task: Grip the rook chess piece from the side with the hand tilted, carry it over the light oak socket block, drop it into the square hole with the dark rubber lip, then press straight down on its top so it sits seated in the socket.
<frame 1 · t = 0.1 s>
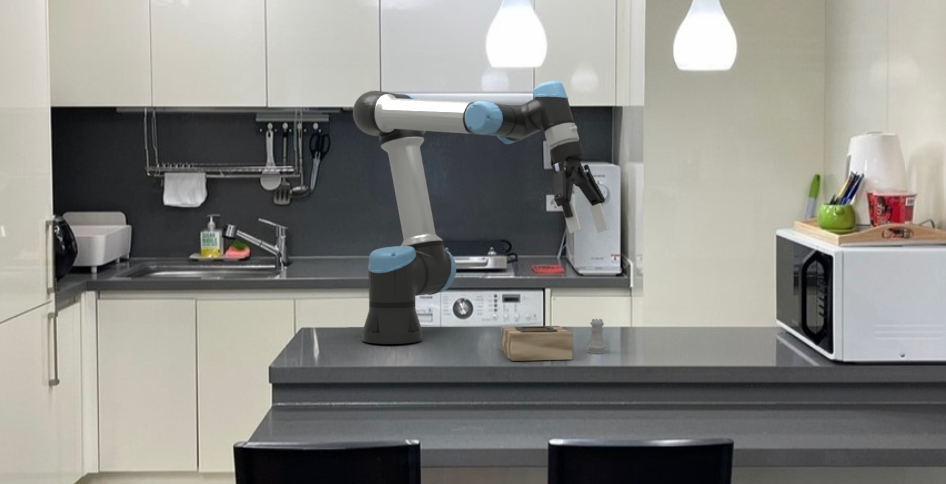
hand: (589, 231, 223), 29 cm above the countertop, tool tilted 20°, fingers open, 13 cm apart
socket block: (535, 355, 225), on the countertop
rook chess piece: (596, 353, 228), on the countertop
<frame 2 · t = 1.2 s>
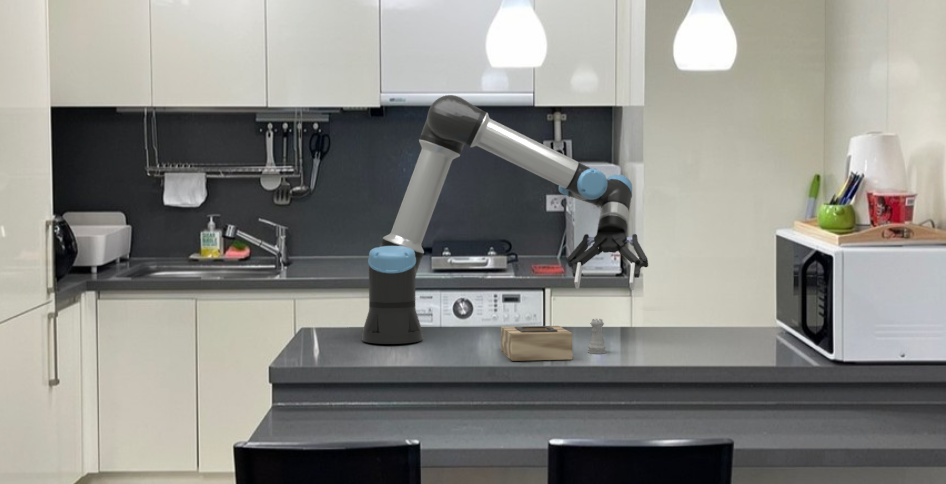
hand: (603, 285, 237), 15 cm above the countertop, tool tilted 45°, fingers open, 13 cm apart
nothing on the countertop moved.
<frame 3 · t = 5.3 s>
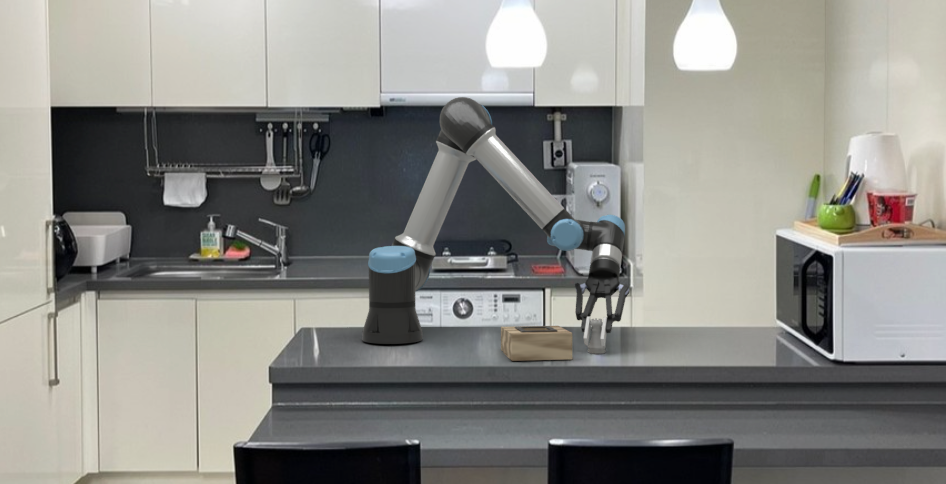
hand: (594, 341, 224), 3 cm above the countertop, tool tilted 45°, fingers closed on rook chess piece, 3 cm apart
rook chess piece: (596, 353, 228), on the countertop, touching gripper
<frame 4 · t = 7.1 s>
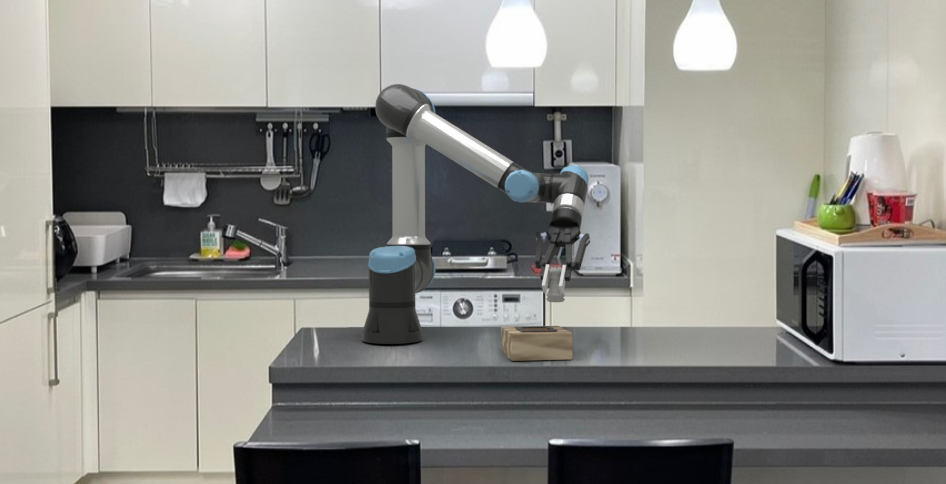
hand: (552, 289, 222), 16 cm above the countertop, tool tilted 45°, fingers closed on rook chess piece, 3 cm apart
rook chess piece: (555, 301, 226), point 12 cm above the countertop, touching gripper
when the fingers open (10 cm above the countertop, at t = 8.7 s): rook chess piece drops 7 cm, resting in socket block.
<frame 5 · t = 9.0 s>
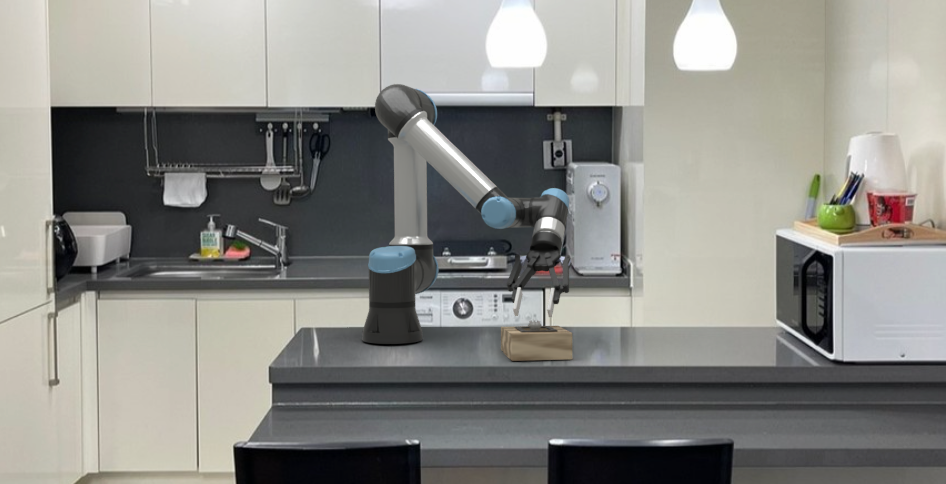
hand: (532, 312, 221), 10 cm above the countertop, tool tilted 45°, fingers open, 7 cm apart
rook chess piece: (534, 355, 225), resting in socket block
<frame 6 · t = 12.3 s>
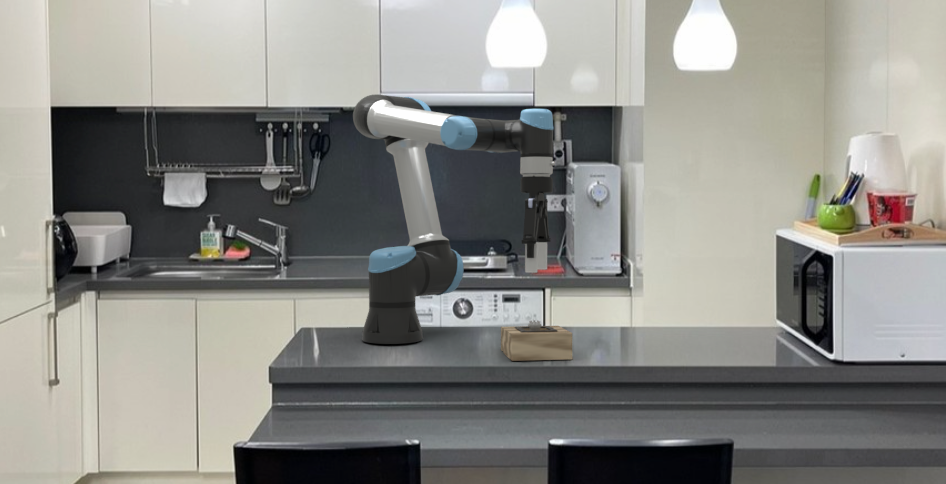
hand: (536, 270, 225), 20 cm above the countertop, tool pointing down, fingers open, 10 cm apart
nothing on the countertop moved.
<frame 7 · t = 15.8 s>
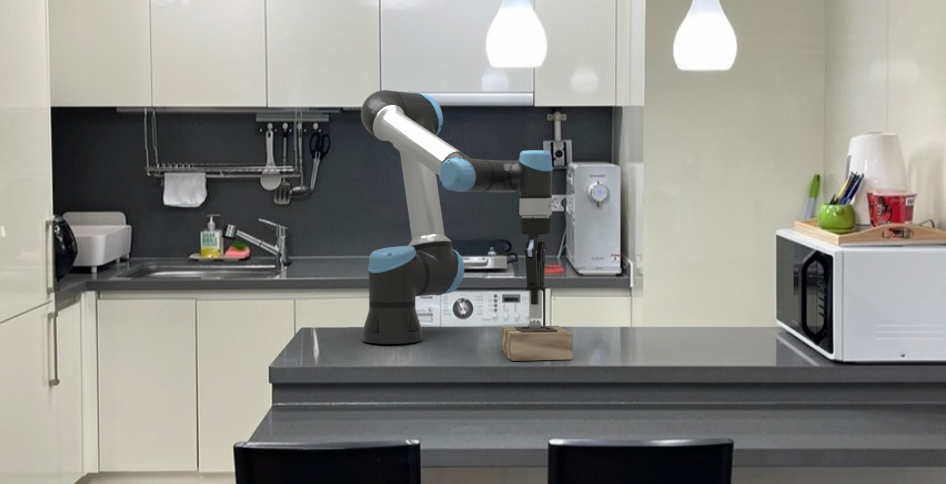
hand: (535, 318, 225), 9 cm above the countertop, tool pointing down, fingers closed
nothing on the countertop moved.
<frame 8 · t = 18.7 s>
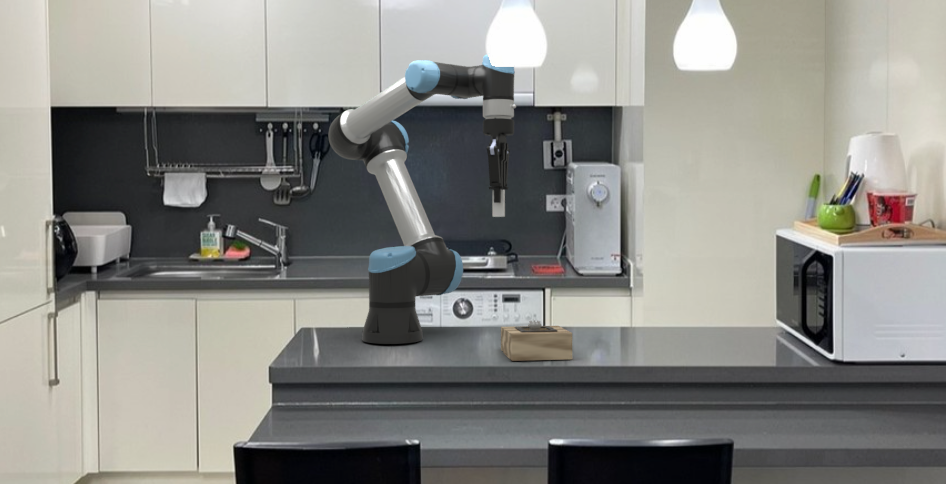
hand: (498, 216, 233), 32 cm above the countertop, tool pointing down, fingers closed
nothing on the countertop moved.
at the end: rook chess piece 0.3 cm off-centre on the socket block, point 0.0 cm above the socket block's base; rook chess piece tilted 3°; the gripper is holding nothing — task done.
